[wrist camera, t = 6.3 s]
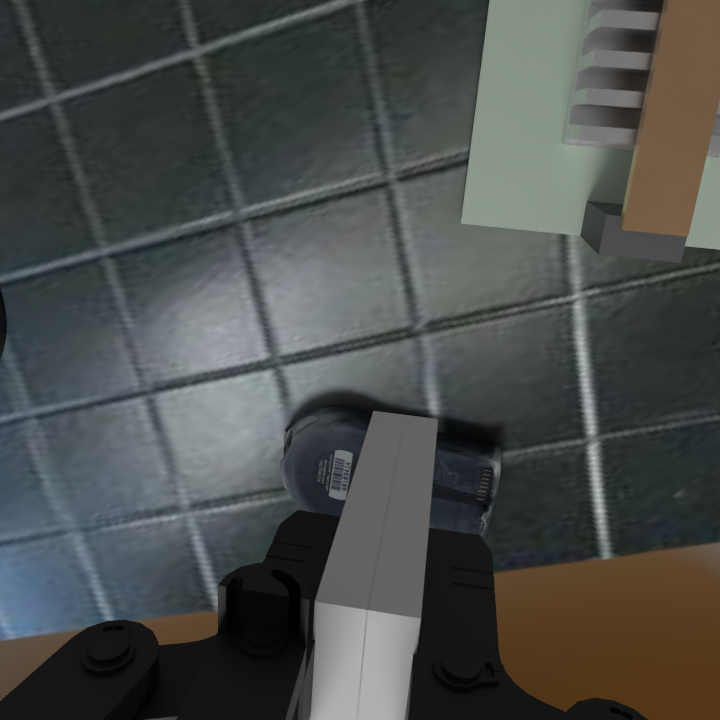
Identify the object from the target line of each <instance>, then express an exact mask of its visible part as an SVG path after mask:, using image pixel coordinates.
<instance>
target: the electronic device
mask: <svg viewBox="0 0 720 720" xmlns="http://www.w3.org/2000/svg"><path fill="white" fill-rule="evenodd" d="M371 418H372V414H370V413H368V412H366V411H365V410H358V409H355V408H352V407H347V406H327V407H322V408H319V409H316V410H313V411H312V412H310V413H308V414H306V415H304V416H303V417H301V418H300V419H299V420H297V421H296V422H295V423H294V424H293V426H292V427H291V428H290V429H289V430H288V432H287V433H286V432H285V431H284V437H285V440H284V458H283V459H282V460H281V474H282V480H283V484H284V487H285V489H287V490H288V492H289V493H290V494H291V496H292V498H293V499H294V500H295V501H296V503H297V504H298V505H299V506H300V507H301V508H302V509H303V510H304V511H307V512H314V513H321V514H327V515H334V516H341V515H342V512H343V508H344V505H345V502H346V499H347V495H348V492H349V489H350V486H351V482H352V479H353V476H354V473H355V469H356V466H357V463H358V460H359V456H360V453H361V450H362V447H363V443H364V440H365V437H366V434H367V430H368V427H369V424H370V421H371ZM501 446H502V445H500V446H496V445H489V444H485V443H480V442H476V441H472V440H468V439H465V438H460V437H456V436H452V435H447V434H442V433H438V432H437V438H436V449H435V461H434V473H433V484H432V496H431V508H430V519H429V528H436V529H442V530H449V531H456V532H463V533H470V534H477V535H480V536H481V537H482V539H483V540H484V542H485V540H486V536H487V531H488V526H489V521H490V518H491V515H492V512H493V509H494V505H495V502H496V498H497V494H498V485H499V478H500V471H501V463H500V458H501V456H502V452H501Z"/></svg>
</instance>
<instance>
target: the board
mask: <svg viewBox="0 0 720 720" xmlns="http://www.w3.org/2000/svg"><path fill="white" fill-rule="evenodd" d="M585 3H586V0H489V8H488V16H487V23H486V31H485V39H484V47H483V54H482V62H481V70H480V78H479V85H478V93H477V101H476V109H475V116H474V124H473V132H472V140H471V147H470V155H469V163H468V171H467V178H466V186H465V194H464V202H463V209H462V217H461V224H470V225H480V226H490V227H500V228H510V229H520V230H530V231H540V232H550V233H560V234H570V235H580V236H581V237H582V238H583V239H584V240H585V241H586V242H587V243H588V244H589V245H590V246H591V247H592V248H593V249H594V250H595V251H596V252H597V253H598V254H599V255H608V256H618V257H627V258H637V259H647V260H656V261H666V262H676V263H681V260H682V256H683V252H684V248H685V246H690V247H700V248H710V249H720V156H719V158H715V157H706V162H705V166H704V170H703V175H702V179H701V183H700V188H699V192H698V196H697V201H696V205H695V209H694V214H693V218H692V222H691V227H690V231H689V235H688V237H687V236H677V235H667V234H657V233H646V232H636V231H626V230H621V229H619V224H620V219H621V214H622V209H623V204H624V199H625V194H626V189H627V184H628V179H629V174H630V169H631V164H632V159H633V154H634V150H622V149H610V148H598V147H587V146H575V145H564V144H561V141H562V135H563V129H564V124H565V118H566V112H567V106H568V101H569V95H570V89H571V83H572V78H573V72H574V66H575V60H576V55H577V49H578V43H579V37H580V32H581V26H582V20H583V14H584V9H585Z"/></svg>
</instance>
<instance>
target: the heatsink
mask: <svg viewBox="0 0 720 720" xmlns="http://www.w3.org/2000/svg"><path fill="white" fill-rule="evenodd" d="M663 3H664V0H586V3H585V9H584V14H583V20H582V26H581V32H580V37H579V43H578V49H577V55H576V60H575V66H574V72H573V78H572V83H571V89H570V95H569V101H568V106H567V112H566V118H565V124H564V129H563V135H562V141H561V144H564V145H575V146H587V147H598V148H610V149H622V150H634V149H635V144H636V139H637V133H638V128H639V123H640V118H641V113H642V108H643V103H644V98H645V93H646V88H647V83H648V78H649V73H650V68H651V63H652V58H653V53H654V48H655V43H656V38H657V33H658V28H659V23H660V18H661V13H662V8H663ZM719 156H720V101H719V105H718V110H717V114H716V118H715V123H714V127H713V131H712V136H711V140H710V144H709V149H708V153H707V157H715V158H719Z"/></svg>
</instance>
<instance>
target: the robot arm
mask: <svg viewBox="0 0 720 720" xmlns="http://www.w3.org/2000/svg"><path fill="white" fill-rule="evenodd" d="M4 340H5V317H4V310H3V305H2V301H1V298H0V357H1V354H2V351H3V346H4ZM437 426H438V419H433V418H425V417H417V416H410V415H402V414H394V413H386V412H378V411H373V414H372V418H371V421H370V424H369V427H368V430H367V434H366V437H365V440H364V443H363V447H362V450H361V453H360V456H359V460H358V463H357V466H356V469H355V473H354V476H353V479H352V482H351V486H350V489H349V492H348V495H347V499H346V502H345V505H344V508H343V512H342V515H341V516H334V515H327V514H321V513H314V512H307V511H300V510H297V511H296V512H295V513H293V514H292V515H291V516H290V517H288V518H287V519H286V520H284V521H283V522H282V523H281V524H280V526H279V528H278V530H277V532H276V535H275V537H274V539H273V542H272V544H271V546H270V548H269V550H268V552H267V555H266V559H264V561H263V563H256V564H251V565H247V566H242V567H240V568H238V569H236V570H235V571H233V572H231V573H229V574H227V575H226V577H225V578H224V579H223V580H222V581H221V582H220V584H219V585H218V633H217V634H216V635H215V636H212V637H209V638H207V639H204V640H200V641H195V642H189V643H180V644H170V645H159V644H158V641H157V639H156V637H155V635H154V633H153V631H152V630H150V629H149V628H147V627H146V626H144V625H143V624H141V623H137V622H133V621H128V620H116V621H105V622H103V623H100V624H97V625H94V626H91V627H88V628H86V629H85V630H83V631H82V632H80V633H79V634H77V635H76V636H74V637H73V638H71V639H70V640H69V641H68V642H67V643H66V644H64V645H63V646H62V647H61V648H60V649H59V650H58V651H56V652H55V653H54V654H53V655H52V656H51V657H50V658H49V659H47V660H46V661H45V662H44V663H43V664H42V665H41V666H40V667H39V668H37V669H36V670H35V671H34V672H33V673H32V674H31V675H29V676H28V677H27V678H26V679H25V680H24V681H23V682H21V683H20V684H19V685H18V686H17V687H16V688H15V689H14V690H13V691H11V692H10V693H9V694H8V695H7V696H6V697H5V698H3V699H2V700H1V701H0V720H648V719H646V718H645V717H644V716H642V715H641V714H640V713H638V712H637V711H636V710H634V709H632V708H630V707H628V706H625V705H623V704H621V703H618V702H616V701H613V700H606V699H599V698H592V699H588V700H582V701H578V702H577V703H576V704H575V705H573V706H572V707H571V708H570V709H569V710H567V712H564V711H562V710H560V709H558V708H555V707H553V706H551V705H548V704H546V703H544V702H542V701H540V700H538V699H536V698H535V697H533V696H531V695H529V694H528V693H526V692H525V691H524V690H523V689H521V688H520V687H519V686H517V685H516V684H515V683H514V682H513V680H512V679H511V678H510V677H509V676H508V674H507V673H506V671H505V669H504V666H503V665H502V663H501V660H500V656H499V650H498V634H497V619H496V603H495V593H494V589H495V588H494V577H493V557H492V552H491V551H490V549H489V548H488V546H487V545H486V543H485V542H484V540H483V539H482V537H481V536H480V535H477V534H470V533H463V532H456V531H449V530H442V529H436V528H429V519H430V508H431V496H432V484H433V473H434V461H435V449H436V438H437Z"/></svg>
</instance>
